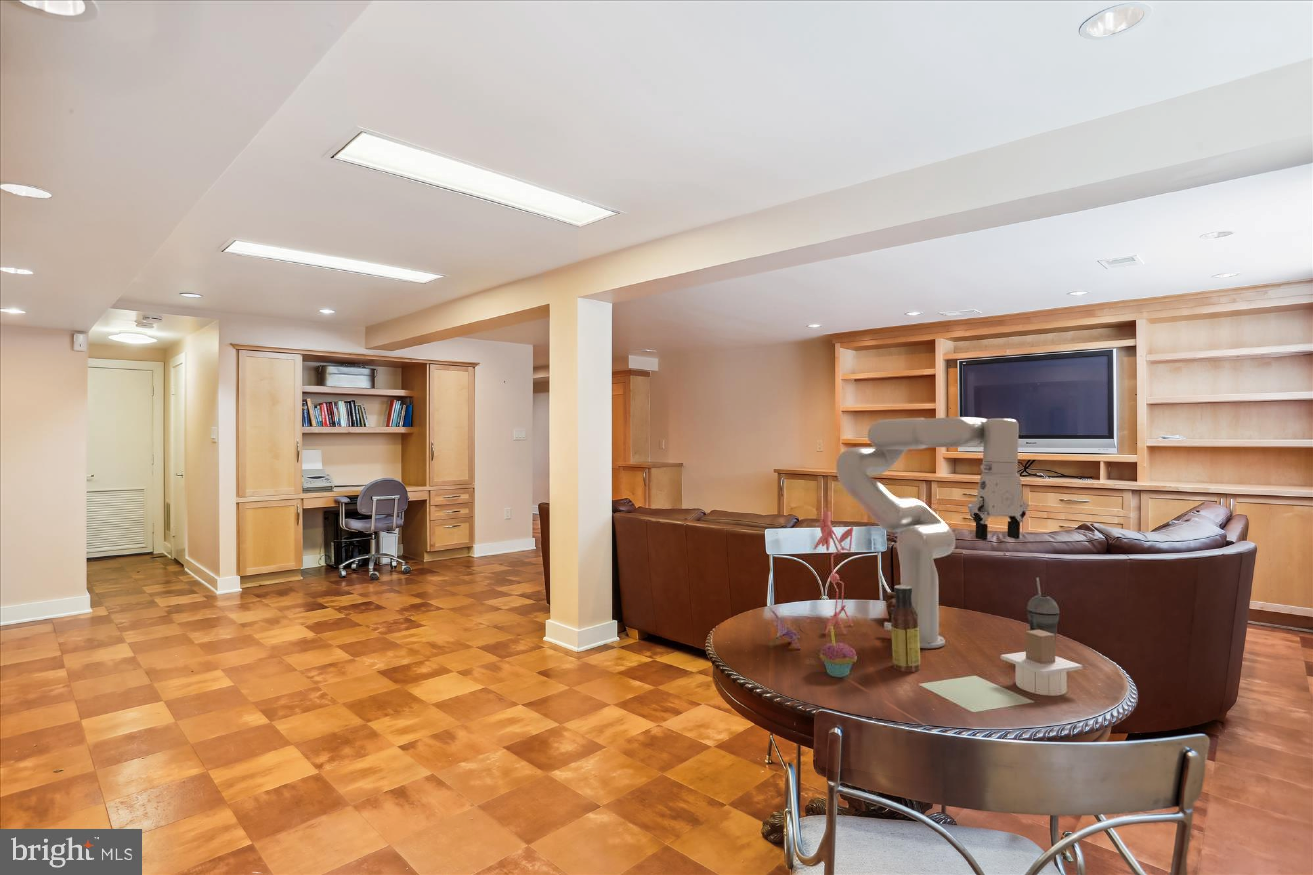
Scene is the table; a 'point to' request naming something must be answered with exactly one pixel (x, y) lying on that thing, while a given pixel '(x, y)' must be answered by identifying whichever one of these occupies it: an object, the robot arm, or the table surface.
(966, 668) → the table surface
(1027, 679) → the bowl
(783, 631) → the lily
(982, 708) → the mat
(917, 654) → the sauce bottle
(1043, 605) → the beverage cup
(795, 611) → the table surface
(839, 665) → the cupcake
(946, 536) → the robot arm
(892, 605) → the decorative turtle
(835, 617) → the figurine
